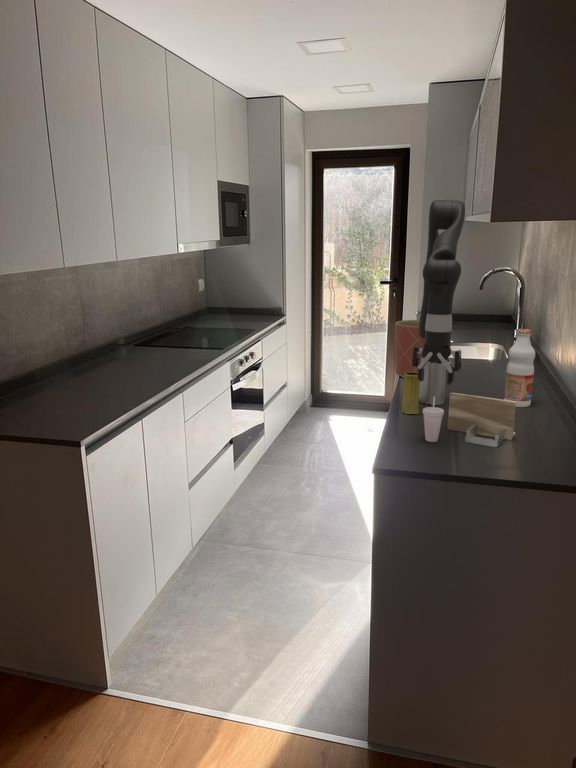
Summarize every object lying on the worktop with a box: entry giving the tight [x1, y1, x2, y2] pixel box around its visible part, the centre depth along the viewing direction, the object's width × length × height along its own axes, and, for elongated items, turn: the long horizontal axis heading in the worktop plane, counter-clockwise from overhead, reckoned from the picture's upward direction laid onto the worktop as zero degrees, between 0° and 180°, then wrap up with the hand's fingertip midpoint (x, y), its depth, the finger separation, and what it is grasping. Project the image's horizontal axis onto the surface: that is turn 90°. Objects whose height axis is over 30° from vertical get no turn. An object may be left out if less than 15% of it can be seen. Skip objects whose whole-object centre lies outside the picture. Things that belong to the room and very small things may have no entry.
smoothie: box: [422, 396, 445, 443], centre depth 180 cm, size 6×6×14 cm
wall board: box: [446, 392, 517, 441], centre depth 187 cm, size 5×20×12 cm, turn 58°
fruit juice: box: [503, 328, 536, 408], centre depth 217 cm, size 9×9×28 cm
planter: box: [394, 319, 425, 377], centre depth 262 cm, size 23×23×24 cm
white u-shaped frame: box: [464, 423, 505, 448], centre depth 181 cm, size 9×10×4 cm
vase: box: [400, 372, 420, 415], centre depth 208 cm, size 6×6×14 cm
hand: (435, 382), depth 177 cm, fingers open, 8 cm apart
